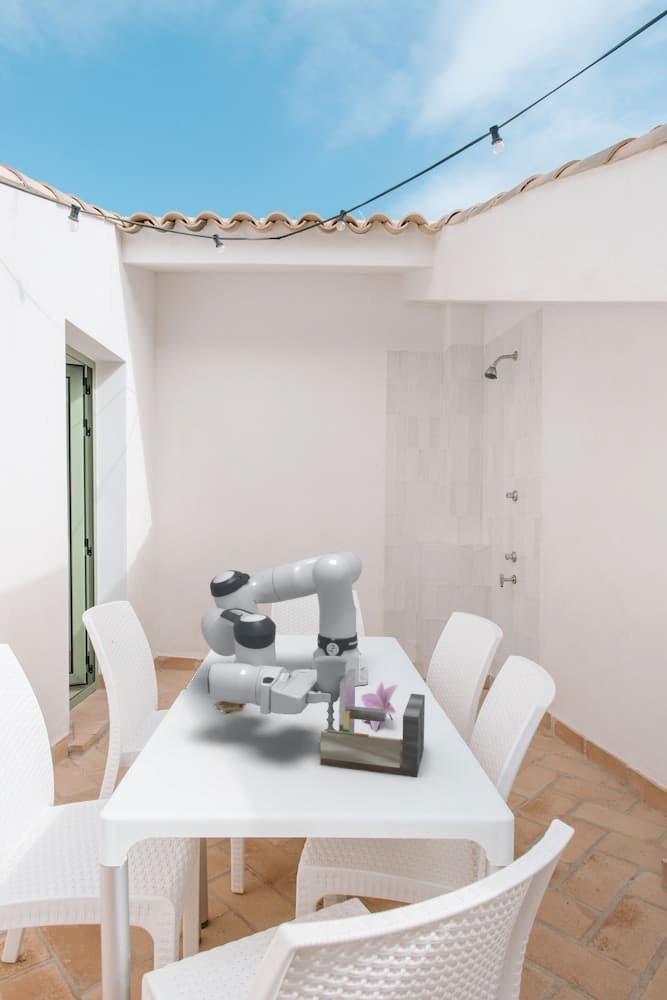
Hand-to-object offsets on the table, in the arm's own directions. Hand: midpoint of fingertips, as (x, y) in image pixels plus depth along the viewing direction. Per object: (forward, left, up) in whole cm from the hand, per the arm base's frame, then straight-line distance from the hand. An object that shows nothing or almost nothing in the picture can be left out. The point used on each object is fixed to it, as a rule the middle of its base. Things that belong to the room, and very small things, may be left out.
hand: (334, 693), depth 131 cm
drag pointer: (+5, +4, -11) cm, 13 cm away
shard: (-20, -33, -14) cm, 41 cm away
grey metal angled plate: (0, +7, -11) cm, 13 cm away
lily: (-19, +7, -13) cm, 24 cm away
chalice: (0, -1, -11) cm, 11 cm away
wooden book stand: (0, +9, -13) cm, 16 cm away
